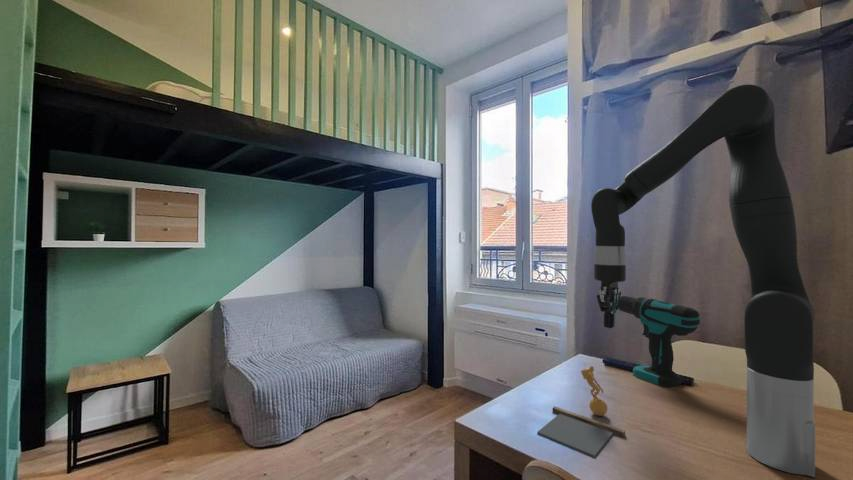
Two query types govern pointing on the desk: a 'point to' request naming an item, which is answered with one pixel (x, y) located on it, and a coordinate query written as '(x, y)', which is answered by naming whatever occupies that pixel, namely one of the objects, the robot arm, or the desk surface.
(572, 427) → the mat
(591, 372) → the figurine
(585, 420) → the bar
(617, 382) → the desk surface
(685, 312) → the power drill
